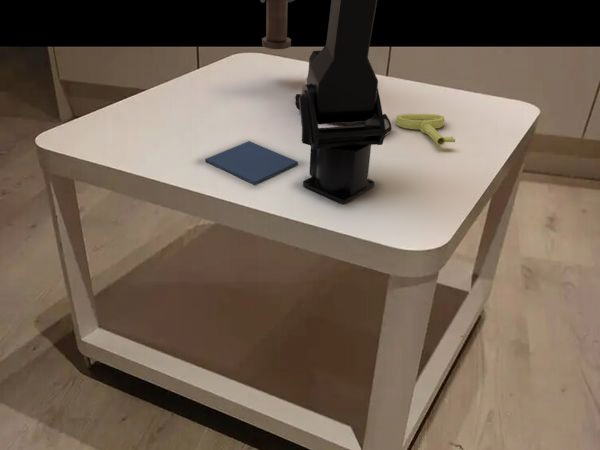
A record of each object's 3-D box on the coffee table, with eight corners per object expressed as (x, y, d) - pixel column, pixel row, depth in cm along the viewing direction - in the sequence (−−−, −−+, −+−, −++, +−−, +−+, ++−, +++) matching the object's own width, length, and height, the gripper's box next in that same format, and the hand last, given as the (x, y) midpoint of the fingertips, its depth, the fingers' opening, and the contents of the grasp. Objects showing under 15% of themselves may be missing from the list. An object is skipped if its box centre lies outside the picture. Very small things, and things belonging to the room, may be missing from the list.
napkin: (298, 164, 81) (298, 161, 80) (254, 184, 75) (254, 182, 75) (249, 143, 85) (249, 140, 85) (205, 161, 80) (205, 158, 80)
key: (438, 154, 85) (440, 139, 84) (389, 121, 94) (391, 108, 93) (480, 146, 87) (482, 132, 86) (428, 115, 97) (430, 102, 96)
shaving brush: (296, 45, 104) (299, -45, 96) (277, 51, 101) (278, -42, 93) (275, 39, 106) (277, -49, 99) (256, 44, 103) (255, -46, 96)
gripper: (347, -113, 90) (323, -44, 105) (219, -117, 86) (212, -44, 101) (360, -46, 88) (333, 15, 102) (228, -46, 83) (220, 18, 98)
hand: (275, 0), depth 101 cm, fingers closed on shaving brush, 4 cm apart
